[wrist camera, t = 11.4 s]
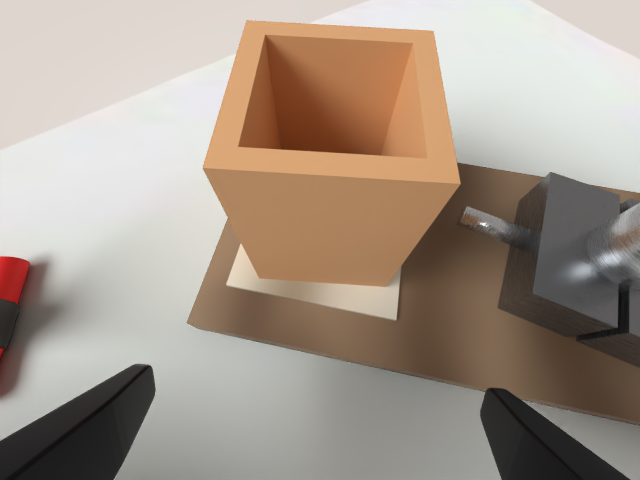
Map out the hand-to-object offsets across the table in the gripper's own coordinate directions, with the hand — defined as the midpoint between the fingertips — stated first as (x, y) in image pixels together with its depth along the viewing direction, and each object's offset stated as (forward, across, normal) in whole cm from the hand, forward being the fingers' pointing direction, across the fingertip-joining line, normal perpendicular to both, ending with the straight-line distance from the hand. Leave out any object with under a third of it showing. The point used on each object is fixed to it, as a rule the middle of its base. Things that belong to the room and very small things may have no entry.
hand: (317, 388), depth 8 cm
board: (+9, -6, 0) cm, 11 cm away
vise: (+8, -11, -1) cm, 14 cm away
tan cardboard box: (+8, 0, -2) cm, 9 cm away
